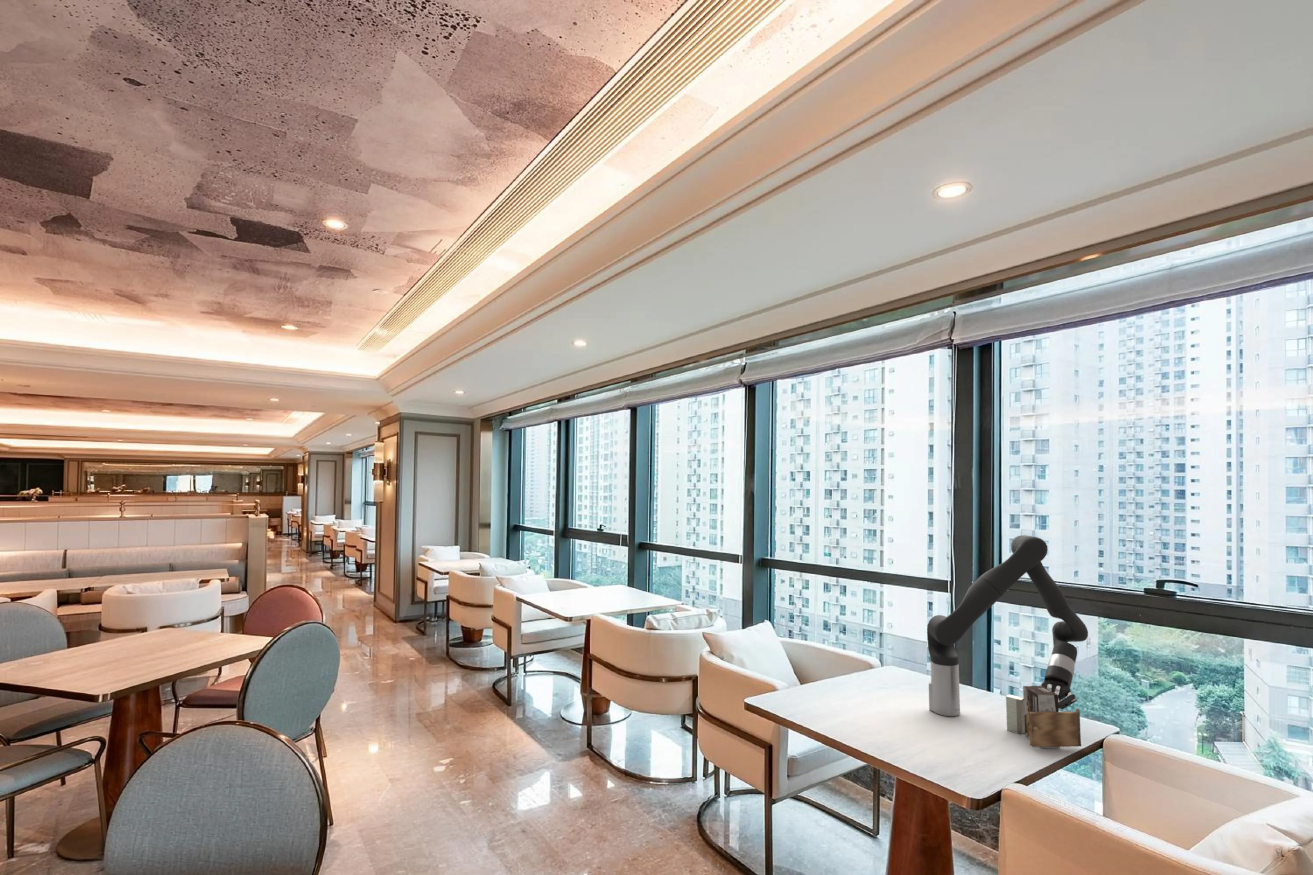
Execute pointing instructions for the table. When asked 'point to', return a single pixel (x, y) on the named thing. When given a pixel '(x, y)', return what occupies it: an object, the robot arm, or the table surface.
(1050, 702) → the coffee box
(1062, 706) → the robot arm
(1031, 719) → the wooden slab
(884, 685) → the table surface
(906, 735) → the table surface
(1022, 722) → the grey tall block
